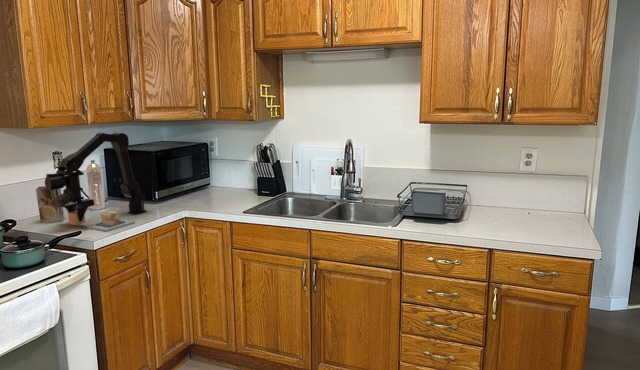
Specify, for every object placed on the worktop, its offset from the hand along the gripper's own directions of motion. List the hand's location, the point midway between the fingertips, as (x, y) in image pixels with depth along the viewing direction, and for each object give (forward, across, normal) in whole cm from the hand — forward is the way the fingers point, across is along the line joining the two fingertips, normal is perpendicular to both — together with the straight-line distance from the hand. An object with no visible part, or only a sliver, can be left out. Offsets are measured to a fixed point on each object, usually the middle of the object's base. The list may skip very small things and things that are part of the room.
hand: (77, 220), depth 211 cm
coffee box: (+3, -19, +1) cm, 19 cm away
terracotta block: (+1, 0, 0) cm, 1 cm away
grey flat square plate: (+2, +14, +6) cm, 15 cm away
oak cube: (+2, +13, +7) cm, 15 cm away
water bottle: (+3, -20, +26) cm, 33 cm away
